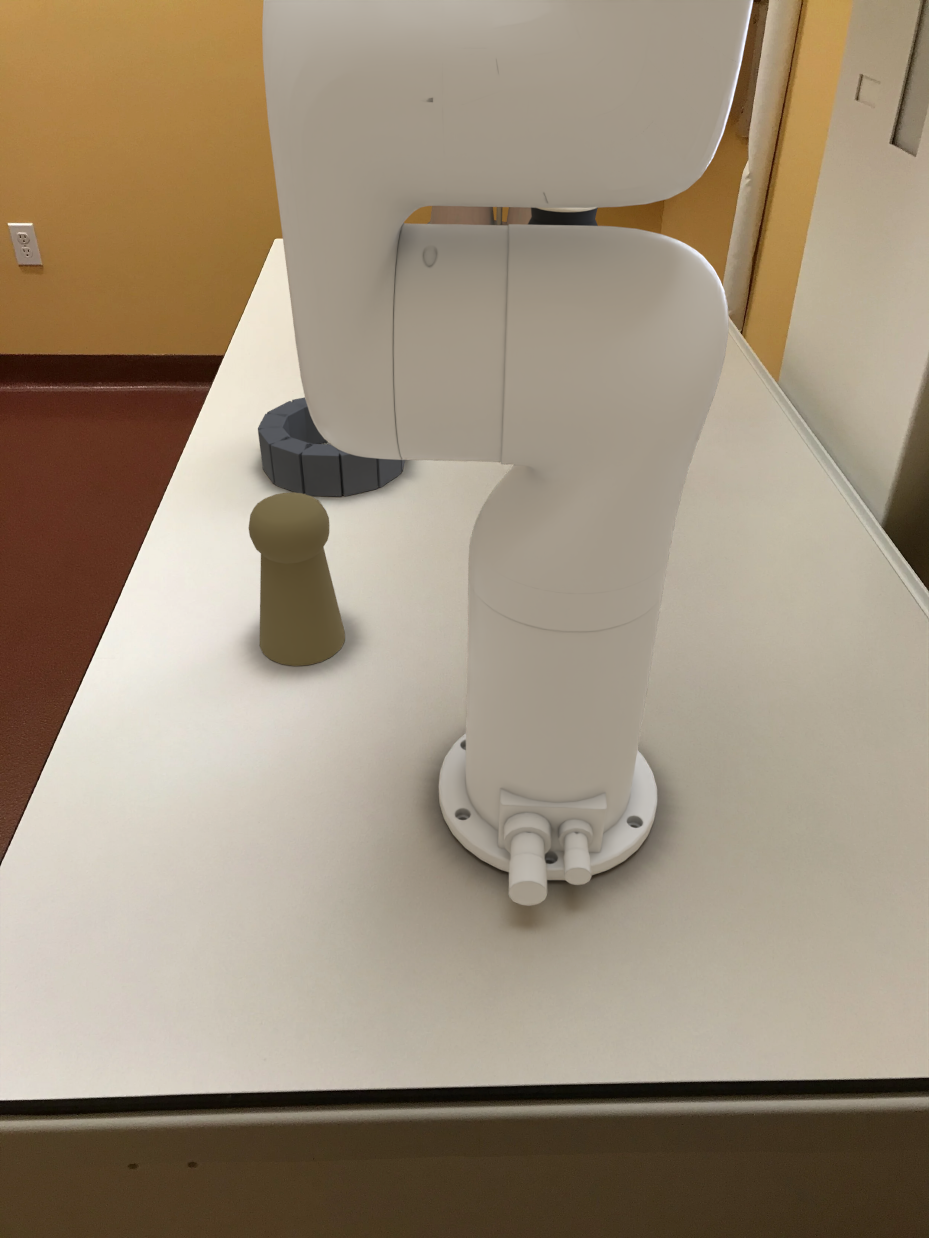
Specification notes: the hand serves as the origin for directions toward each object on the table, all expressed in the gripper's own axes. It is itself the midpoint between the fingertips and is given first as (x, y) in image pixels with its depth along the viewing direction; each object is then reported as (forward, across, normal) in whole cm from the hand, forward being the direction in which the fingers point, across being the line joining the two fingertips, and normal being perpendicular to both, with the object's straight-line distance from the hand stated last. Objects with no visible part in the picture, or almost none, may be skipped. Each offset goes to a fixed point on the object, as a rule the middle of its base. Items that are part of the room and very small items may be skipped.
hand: (552, 89), depth 73 cm
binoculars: (+31, -5, +56) cm, 64 cm away
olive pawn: (+31, -16, -30) cm, 46 cm away
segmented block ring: (+31, -18, -3) cm, 36 cm away
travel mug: (+31, +2, +22) cm, 38 cm away
